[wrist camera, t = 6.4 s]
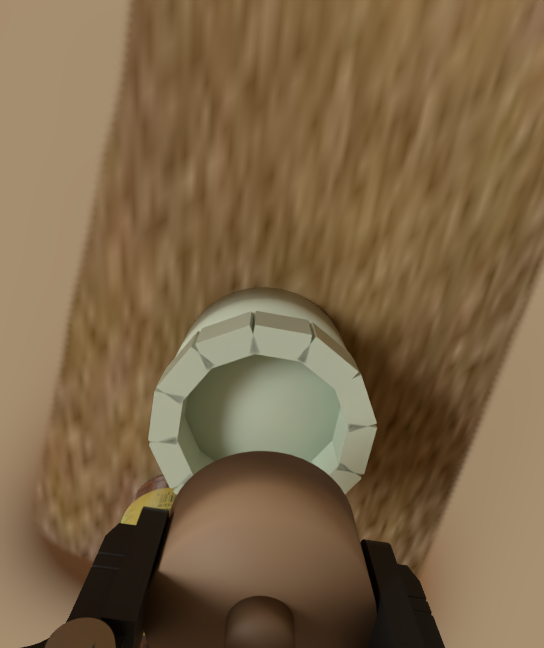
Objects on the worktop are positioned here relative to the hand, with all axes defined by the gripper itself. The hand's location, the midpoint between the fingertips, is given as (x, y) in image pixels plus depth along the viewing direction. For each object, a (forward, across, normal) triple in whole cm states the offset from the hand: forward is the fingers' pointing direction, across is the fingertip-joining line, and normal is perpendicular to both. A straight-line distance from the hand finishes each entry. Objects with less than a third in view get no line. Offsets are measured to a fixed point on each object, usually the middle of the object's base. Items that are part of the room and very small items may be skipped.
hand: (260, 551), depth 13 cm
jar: (+13, 0, 0) cm, 13 cm away
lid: (+1, 0, 0) cm, 1 cm away
